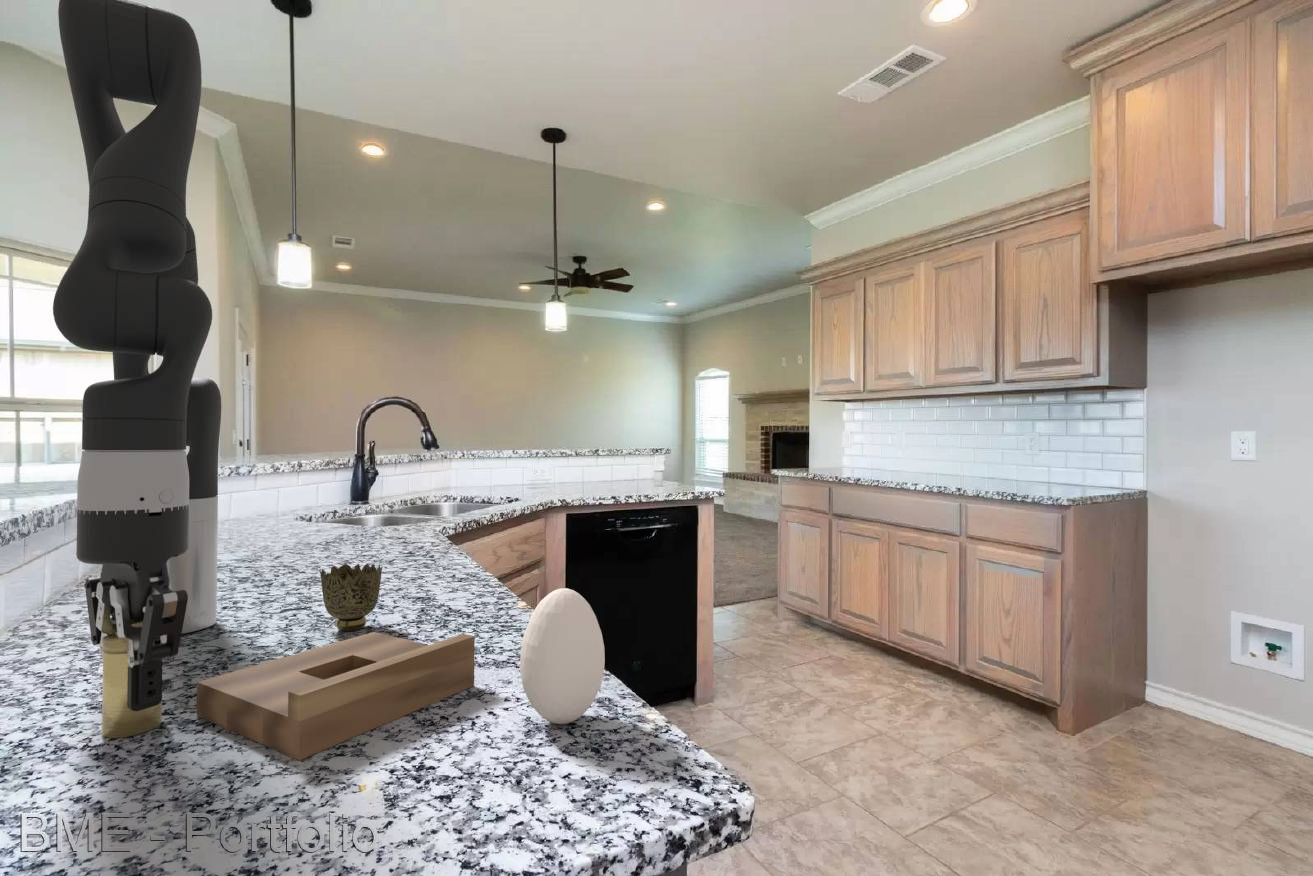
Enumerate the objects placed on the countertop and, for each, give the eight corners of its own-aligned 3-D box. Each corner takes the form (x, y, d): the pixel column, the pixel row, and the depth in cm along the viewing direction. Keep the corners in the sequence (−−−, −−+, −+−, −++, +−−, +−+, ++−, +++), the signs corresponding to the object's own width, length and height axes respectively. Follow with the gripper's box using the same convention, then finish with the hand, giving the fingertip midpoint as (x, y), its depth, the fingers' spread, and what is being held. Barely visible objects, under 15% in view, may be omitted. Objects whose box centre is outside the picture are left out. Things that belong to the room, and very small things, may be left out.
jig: (196, 715, 58) (197, 659, 58) (373, 658, 73) (374, 614, 73) (299, 760, 50) (299, 695, 50) (474, 685, 65) (474, 636, 65)
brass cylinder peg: (92, 731, 55) (93, 636, 55) (149, 713, 58) (150, 625, 58) (113, 742, 53) (114, 644, 53) (171, 723, 56) (172, 632, 56)
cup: (357, 638, 81) (358, 575, 81) (306, 634, 82) (307, 572, 82) (393, 622, 88) (393, 564, 88) (345, 619, 89) (346, 561, 90)
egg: (557, 749, 52) (558, 603, 52) (502, 723, 56) (503, 589, 57) (621, 720, 57) (622, 588, 57) (566, 698, 62) (567, 576, 62)
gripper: (46, 502, 56) (43, 700, 56) (117, 511, 49) (114, 738, 48) (149, 496, 62) (146, 673, 62) (225, 503, 55) (223, 704, 55)
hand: (132, 700), depth 55 cm, fingers closed on brass cylinder peg, 4 cm apart
